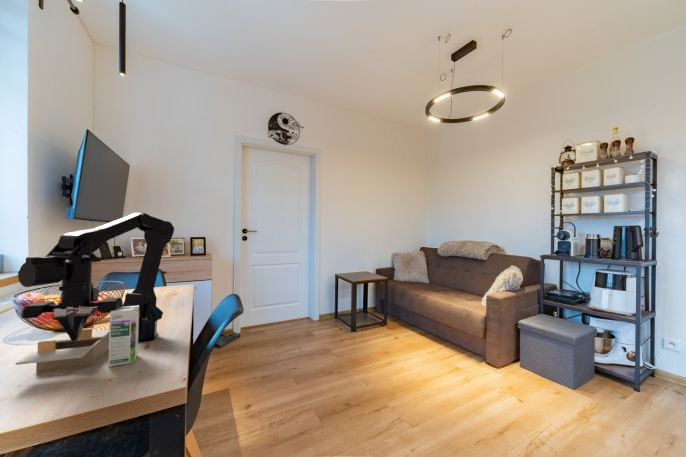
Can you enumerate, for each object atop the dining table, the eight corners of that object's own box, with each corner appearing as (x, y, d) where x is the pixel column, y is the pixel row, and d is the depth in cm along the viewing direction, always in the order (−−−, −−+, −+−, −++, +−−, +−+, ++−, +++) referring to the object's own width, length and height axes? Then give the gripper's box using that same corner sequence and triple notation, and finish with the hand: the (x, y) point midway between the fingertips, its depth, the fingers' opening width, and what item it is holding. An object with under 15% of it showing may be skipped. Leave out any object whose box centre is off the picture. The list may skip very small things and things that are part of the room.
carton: (108, 349, 86) (109, 332, 86) (92, 366, 75) (93, 347, 75) (60, 354, 81) (61, 336, 81) (36, 373, 71) (36, 352, 71)
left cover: (92, 347, 74) (92, 336, 74) (81, 357, 68) (82, 345, 68) (32, 354, 69) (32, 342, 69) (15, 364, 64) (16, 351, 64)
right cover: (111, 331, 86) (111, 321, 86) (103, 338, 81) (103, 327, 81) (60, 335, 82) (61, 325, 82) (48, 343, 76) (49, 332, 76)
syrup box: (107, 367, 74) (109, 311, 75) (113, 358, 80) (114, 306, 80) (134, 363, 77) (136, 309, 77) (138, 355, 82) (139, 304, 82)
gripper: (129, 274, 86) (127, 327, 86) (47, 277, 79) (45, 334, 79) (116, 280, 76) (114, 340, 76) (21, 284, 69) (18, 349, 69)
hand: (74, 340), depth 75 cm, fingers closed
